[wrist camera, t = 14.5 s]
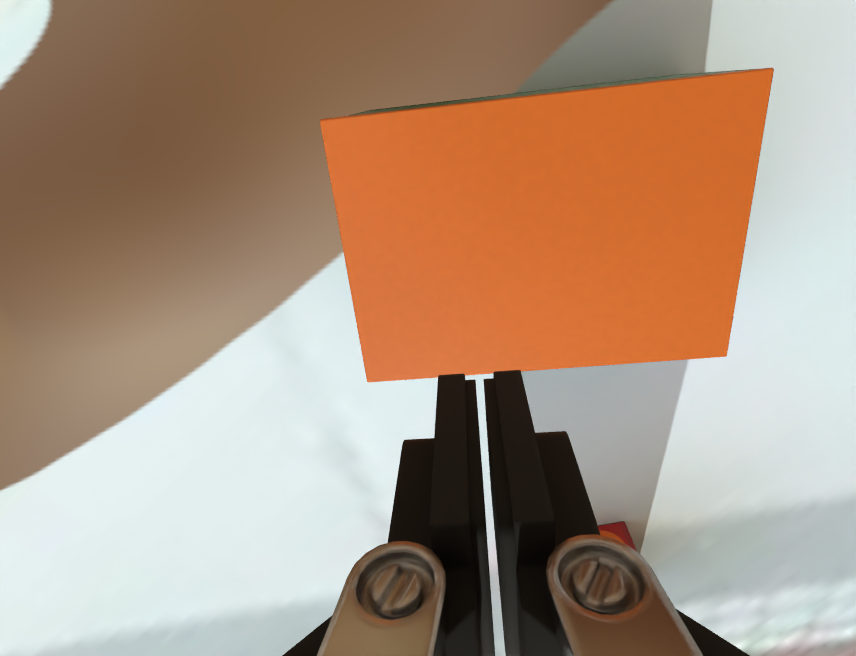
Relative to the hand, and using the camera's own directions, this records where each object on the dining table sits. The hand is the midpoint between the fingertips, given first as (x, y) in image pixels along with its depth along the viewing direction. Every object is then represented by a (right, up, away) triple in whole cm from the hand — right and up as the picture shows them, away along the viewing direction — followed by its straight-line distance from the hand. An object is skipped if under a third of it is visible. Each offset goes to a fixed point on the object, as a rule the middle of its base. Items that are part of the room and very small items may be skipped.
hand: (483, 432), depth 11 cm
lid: (+4, +6, +11) cm, 13 cm away
